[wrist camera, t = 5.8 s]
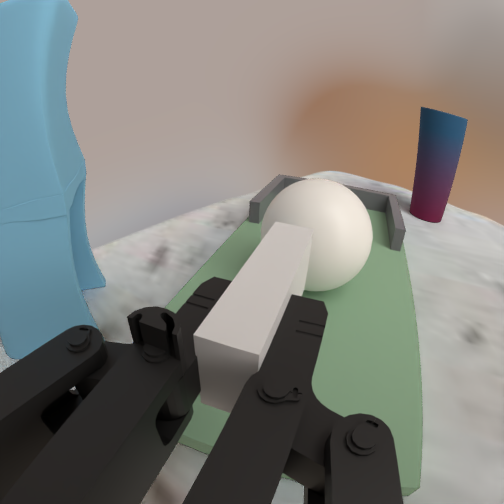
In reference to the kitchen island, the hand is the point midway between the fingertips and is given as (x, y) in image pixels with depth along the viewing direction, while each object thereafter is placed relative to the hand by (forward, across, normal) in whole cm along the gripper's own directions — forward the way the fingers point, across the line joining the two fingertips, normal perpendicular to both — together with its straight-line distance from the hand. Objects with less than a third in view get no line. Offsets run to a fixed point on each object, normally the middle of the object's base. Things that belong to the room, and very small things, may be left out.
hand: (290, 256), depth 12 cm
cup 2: (+33, +14, -8) cm, 36 cm away
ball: (+9, 0, -3) cm, 9 cm away
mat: (+12, 0, -8) cm, 14 cm away
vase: (-2, -16, -8) cm, 18 cm away
